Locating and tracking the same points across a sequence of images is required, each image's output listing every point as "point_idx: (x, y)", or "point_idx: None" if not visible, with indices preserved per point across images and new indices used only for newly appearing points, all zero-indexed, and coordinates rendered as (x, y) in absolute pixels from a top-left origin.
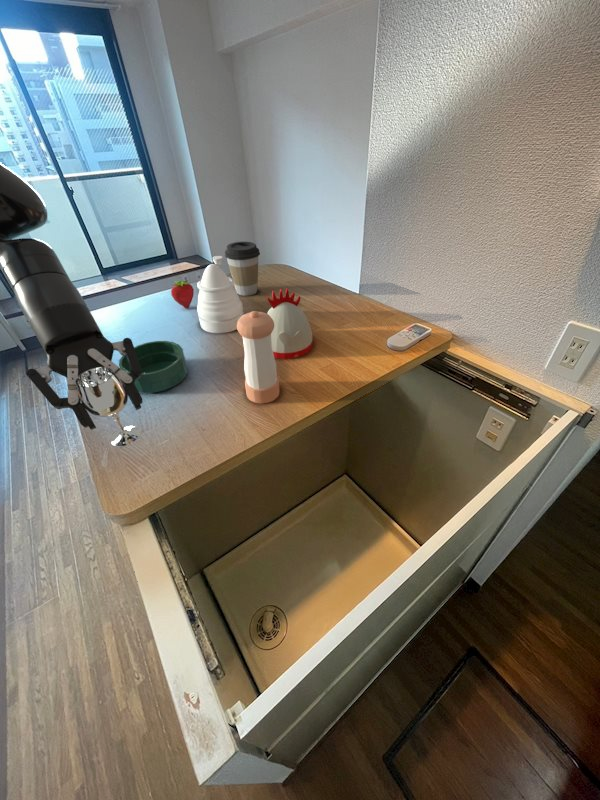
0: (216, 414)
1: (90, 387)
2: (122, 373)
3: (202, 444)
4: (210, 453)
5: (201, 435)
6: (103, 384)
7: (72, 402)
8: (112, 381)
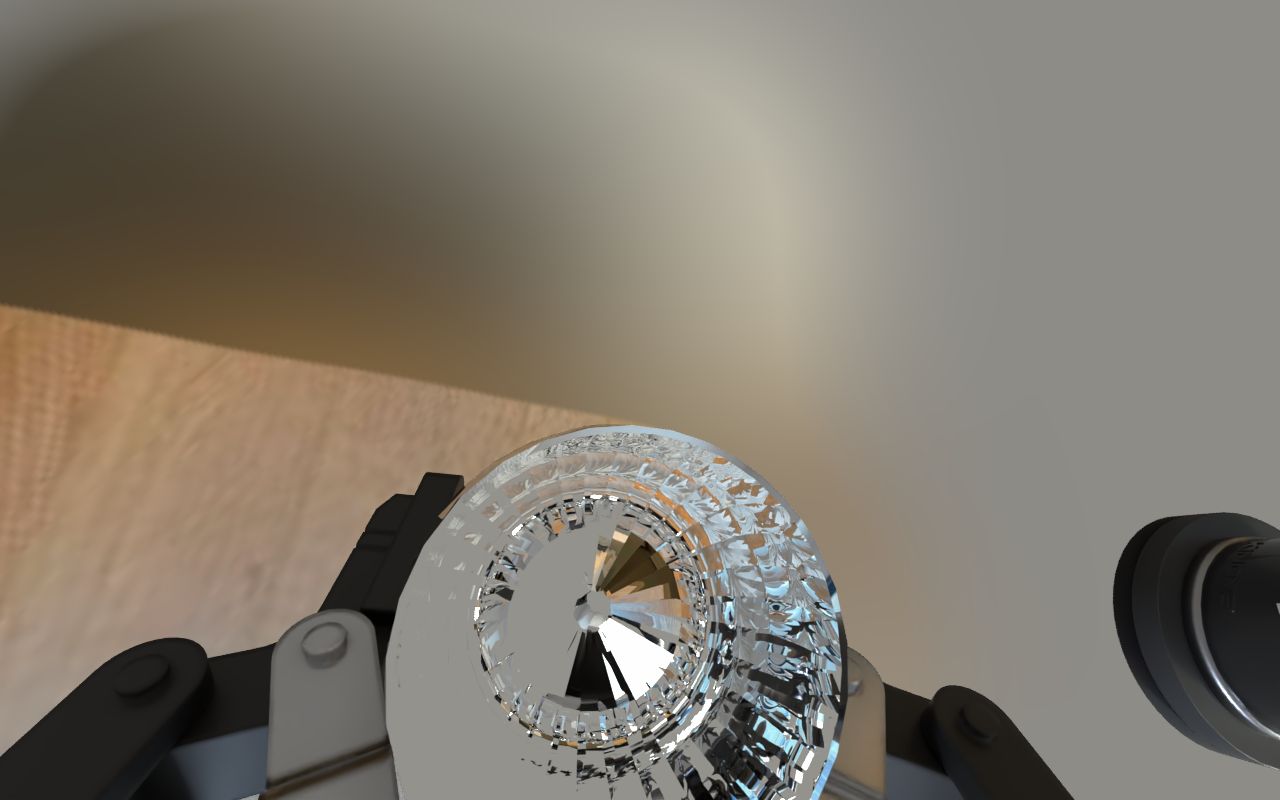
0: (123, 624)
1: (738, 460)
2: (304, 728)
3: (327, 496)
4: (341, 429)
5: (290, 547)
6: (608, 429)
7: (849, 664)
8: (502, 458)
